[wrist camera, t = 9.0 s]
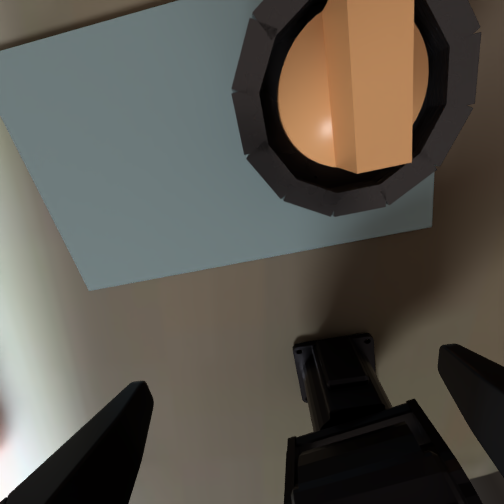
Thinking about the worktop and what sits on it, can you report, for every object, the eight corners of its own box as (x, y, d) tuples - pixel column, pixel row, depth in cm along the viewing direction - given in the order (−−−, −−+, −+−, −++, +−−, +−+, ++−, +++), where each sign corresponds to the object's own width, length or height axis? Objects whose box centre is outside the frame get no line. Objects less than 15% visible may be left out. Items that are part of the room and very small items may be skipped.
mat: (428, 225, 19) (431, 226, 18) (92, 288, 21) (88, 290, 20) (439, -69, 13) (445, -76, 13) (-22, 61, 15) (-29, 58, 15)
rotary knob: (409, 150, 14) (473, 155, 10) (287, 176, 15) (299, 191, 10) (410, -4, 12) (496, -85, 8) (265, 34, 12) (270, -20, 8)
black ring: (420, 180, 17) (466, 191, 13) (259, 212, 18) (260, 231, 14) (426, -35, 13) (493, -103, 9) (220, 22, 14) (207, -21, 10)
